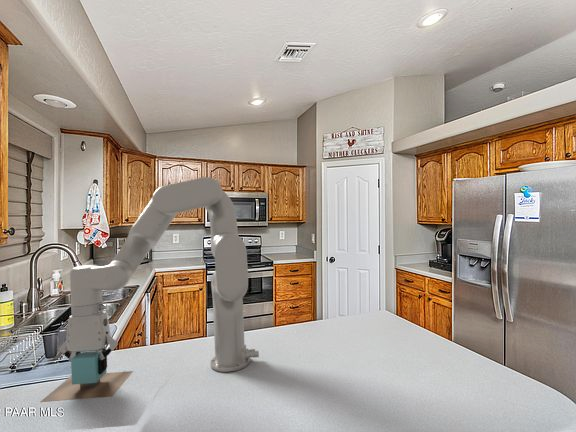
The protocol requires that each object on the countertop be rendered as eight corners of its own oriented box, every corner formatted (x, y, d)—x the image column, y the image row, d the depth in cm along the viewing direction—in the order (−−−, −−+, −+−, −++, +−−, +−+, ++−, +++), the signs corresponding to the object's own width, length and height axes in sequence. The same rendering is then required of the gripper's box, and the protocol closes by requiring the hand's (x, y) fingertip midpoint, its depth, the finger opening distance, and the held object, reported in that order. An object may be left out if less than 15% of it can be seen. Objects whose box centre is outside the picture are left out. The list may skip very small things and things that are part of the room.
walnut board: (133, 375, 100) (133, 371, 100) (112, 401, 86) (111, 396, 86) (71, 380, 99) (71, 375, 99) (40, 407, 85) (40, 401, 85)
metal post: (100, 381, 94) (99, 360, 94) (93, 388, 91) (92, 366, 91) (87, 382, 94) (86, 361, 94) (80, 389, 91) (79, 367, 90)
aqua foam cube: (106, 372, 96) (105, 348, 96) (95, 382, 90) (94, 357, 90) (84, 373, 95) (83, 349, 95) (72, 384, 89) (71, 358, 89)
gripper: (124, 304, 97) (126, 364, 97) (63, 307, 95) (65, 369, 96) (112, 311, 89) (115, 377, 89) (46, 315, 88) (48, 382, 88)
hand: (89, 372), depth 92 cm, fingers closed on aqua foam cube, 6 cm apart
